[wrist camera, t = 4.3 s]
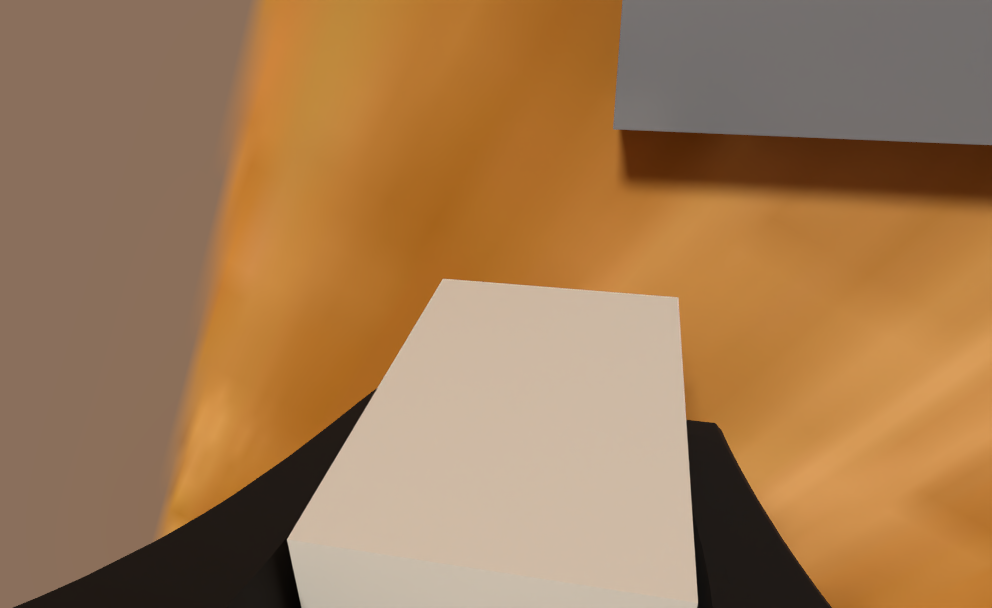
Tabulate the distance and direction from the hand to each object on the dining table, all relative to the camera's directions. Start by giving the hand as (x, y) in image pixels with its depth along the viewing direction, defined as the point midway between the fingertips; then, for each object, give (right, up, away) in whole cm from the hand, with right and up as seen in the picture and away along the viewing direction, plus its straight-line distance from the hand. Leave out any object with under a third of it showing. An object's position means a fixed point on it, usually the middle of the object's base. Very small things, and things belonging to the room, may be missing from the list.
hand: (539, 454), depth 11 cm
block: (0, +1, +2) cm, 2 cm away
